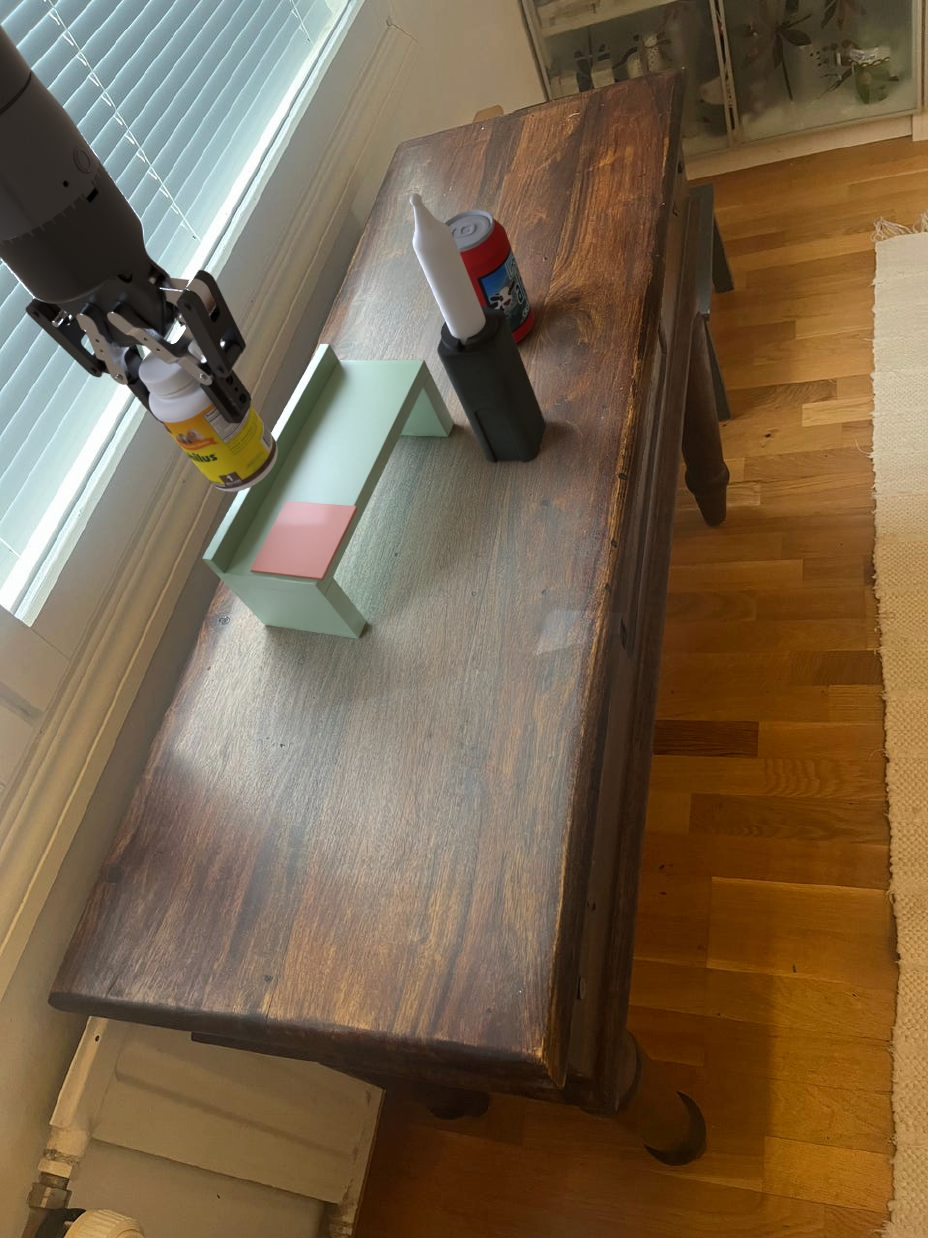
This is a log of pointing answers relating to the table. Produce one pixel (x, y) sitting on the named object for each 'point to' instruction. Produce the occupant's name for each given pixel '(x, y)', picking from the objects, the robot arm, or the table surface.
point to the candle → (478, 350)
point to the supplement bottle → (208, 427)
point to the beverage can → (492, 267)
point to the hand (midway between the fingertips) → (205, 412)
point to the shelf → (321, 488)
